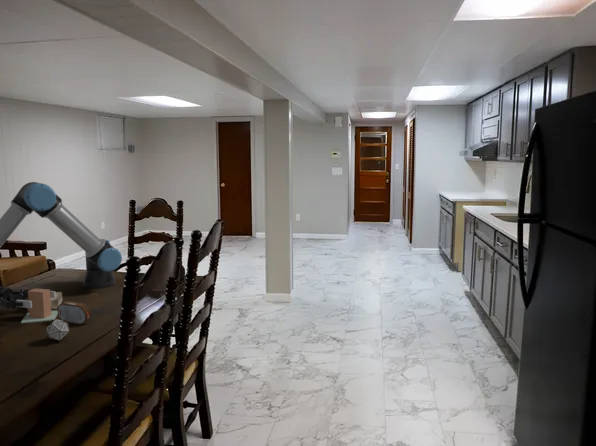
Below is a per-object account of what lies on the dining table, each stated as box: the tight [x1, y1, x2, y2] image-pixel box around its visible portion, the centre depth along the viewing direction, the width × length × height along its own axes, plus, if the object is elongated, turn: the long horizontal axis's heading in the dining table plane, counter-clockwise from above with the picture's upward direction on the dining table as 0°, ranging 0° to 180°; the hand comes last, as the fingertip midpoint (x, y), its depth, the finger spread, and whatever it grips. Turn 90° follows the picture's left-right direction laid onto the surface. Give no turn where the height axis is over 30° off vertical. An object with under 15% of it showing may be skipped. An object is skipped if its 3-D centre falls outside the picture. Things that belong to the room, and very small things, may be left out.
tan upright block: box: [27, 288, 52, 318], centre depth 196 cm, size 7×4×11 cm, turn 78°
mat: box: [20, 309, 58, 324], centre depth 197 cm, size 12×12×1 cm
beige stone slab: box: [26, 291, 63, 312], centre depth 211 cm, size 12×12×4 cm
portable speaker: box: [56, 300, 92, 326], centre depth 190 cm, size 15×3×8 cm, turn 71°
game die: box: [43, 316, 73, 344], centre depth 172 cm, size 9×8×10 cm
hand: (43, 299), depth 195 cm, fingers open, 13 cm apart
